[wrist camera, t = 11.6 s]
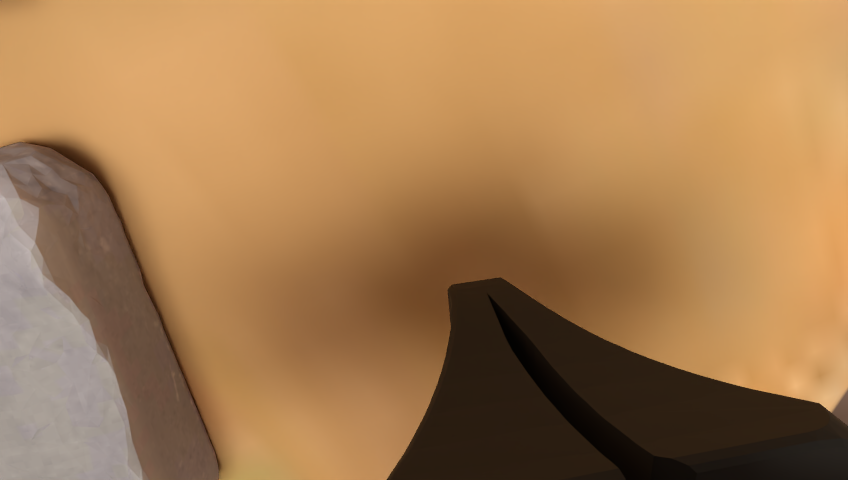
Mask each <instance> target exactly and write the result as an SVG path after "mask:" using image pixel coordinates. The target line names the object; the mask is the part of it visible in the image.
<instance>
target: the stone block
mask: <svg viewBox="0 0 848 480" xmlns="http://www.w3.org/2000/svg"><path fill="white" fill-rule="evenodd" d="M218 479H219V470H218V463H217V459H216V455H215V452H214V449H213V447H212V445H211V442H210V440H209V437H208V435H207V433H206V430H205V427H204V424H203V422H202V420H201V417H200V415H199V412H198V410H197V408H196V406H195V404H194V401H193V399H192V396H191V394H190V391H189V389H188V386H187V384H186V381H185V379H184V376H183V374H182V372H181V370H180V368H179V365H178V363H177V360H176V358H175V355H174V352H173V350H172V348H171V345H170V343H169V341H168V338H167V336H166V334H165V332H164V329H163V326H162V323H161V320H160V317H159V315H158V313H157V311H156V309H155V307H154V305H153V303H152V301H151V299H150V297H149V295H148V293H147V291H146V289H145V287H144V285H143V280H142V276H141V272H140V268H139V266H138V264H137V261H136V259H135V257H134V254H133V252H132V250H131V247H130V245H129V243H128V240H127V238H126V235H125V233H124V230H123V227H122V223H121V220H120V219H119V217H118V215H117V213H116V212H115V209H114V207H113V204H112V202H111V199H110V197H109V195H108V194H107V192H106V191H105V189H104V188H103V186H102V185H101V184H100V182H99V181H98V180H97V178H96V177H95V176H94V175H93V173H91V172H89V171H87V170H86V169H84V168H82V167H81V166H79V165H77V164H76V163H74V162H72V161H71V160H69V159H68V158H66V157H64V156H63V155H61V154H60V153H58V152H56V151H55V150H53V149H52V148H49V147H44V146H39V145H34V144H28V143H23V142H18V143H14V144H11V145H8V146H4V147H1V148H0V480H218Z"/></svg>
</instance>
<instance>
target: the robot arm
mask: <svg viewBox="0 0 848 480" xmlns="http://www.w3.org/2000/svg"><path fill="white" fill-rule="evenodd" d="M448 299H449V311H450V322H451V331H450V337H449V342H448V347H447V352H446V357H445V361H444V365H443V368H442V372H441V375H440V378H439V381H438V384H437V387H436V389H435V392H434V394H433V397H432V399H431V402H430V404H429V407H428V409H427V411H426V413H425V416H424V418H423V420H422V421H421V423H420V425H419V427H418V429H417V431H416V433H415V435H414V437H413V439H412V440H411V442H410V444H409V446H408V448H407V449H406V451H405V453H404V454H403V456H402V457H401V459H400V460H399V462H398V463H397V465H396V466H395V468H394V469H393V471H392V472H391V474H390V476H389V477H388V479H387V480H848V426H847V425H846V424H845V423H843V422H842V421H841V420H840V419H838V418H837V417H836V416H834V415H833V414H832V413H831V412H830V411H828V410H827V409H826V408H825V407H823V406H822V405H821V404H819V403H815V402H810V401H806V400H801V399H796V398H791V397H786V396H782V395H777V394H772V393H767V392H762V391H758V390H753V389H748V388H744V387H740V386H737V385H733V384H729V383H725V382H722V381H718V380H714V379H711V378H707V377H703V376H700V375H697V374H694V373H690V372H687V371H684V370H681V369H678V368H675V367H672V366H669V365H666V364H664V363H661V362H658V361H655V360H652V359H649V358H647V357H644V356H642V355H639V354H637V353H634V352H632V351H629V350H627V349H625V348H622V347H620V346H618V345H616V344H613V343H611V342H609V341H607V340H604V339H602V338H600V337H598V336H596V335H594V334H592V333H590V332H588V331H586V330H585V329H583V328H581V327H579V326H577V325H575V324H574V323H572V322H570V321H568V320H566V319H565V318H563V317H561V316H560V315H558V314H556V313H555V312H553V311H551V310H550V309H548V308H546V307H545V306H543V305H542V304H540V303H539V302H537V301H536V300H534V299H533V298H531V297H530V296H528V295H527V294H525V293H524V292H522V291H521V290H519V289H518V288H516V287H515V286H513V285H512V284H510V283H509V282H507V281H506V280H504V279H502V278H501V277H500V278H493V279H487V280H480V281H474V282H467V283H461V284H454V285H451V286H450V288H449V289H448Z"/></svg>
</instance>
